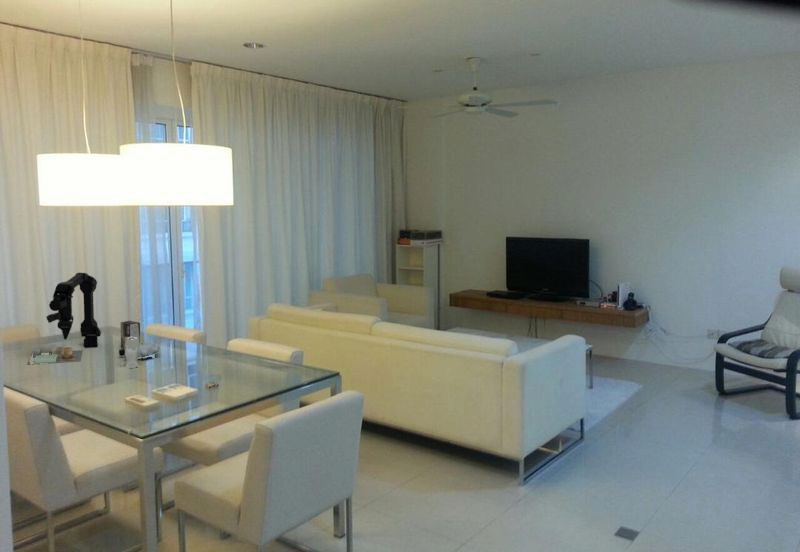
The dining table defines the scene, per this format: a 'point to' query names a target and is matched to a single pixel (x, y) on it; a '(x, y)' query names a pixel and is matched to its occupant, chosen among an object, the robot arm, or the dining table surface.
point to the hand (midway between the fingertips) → (66, 337)
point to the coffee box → (129, 331)
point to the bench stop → (37, 351)
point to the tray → (45, 359)
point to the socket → (68, 359)
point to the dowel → (68, 353)
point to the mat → (78, 359)
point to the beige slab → (58, 351)
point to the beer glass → (132, 350)
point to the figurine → (144, 349)
